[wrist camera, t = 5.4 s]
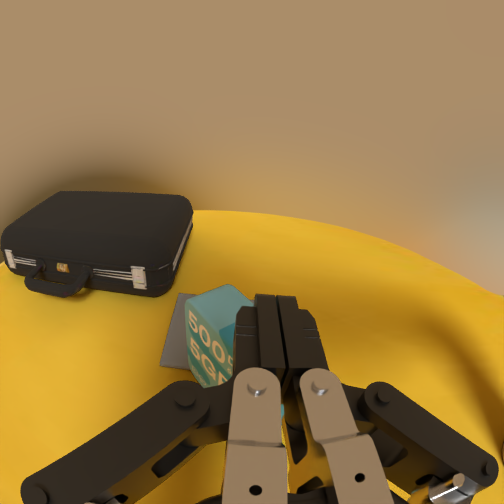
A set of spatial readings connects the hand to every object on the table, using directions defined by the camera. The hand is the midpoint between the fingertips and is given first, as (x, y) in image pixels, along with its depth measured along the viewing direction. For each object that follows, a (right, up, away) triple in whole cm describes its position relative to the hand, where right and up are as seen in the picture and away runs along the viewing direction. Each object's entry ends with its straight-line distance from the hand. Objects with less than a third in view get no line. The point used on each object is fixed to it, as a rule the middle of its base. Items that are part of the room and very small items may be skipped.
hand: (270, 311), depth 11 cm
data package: (-3, -14, +16) cm, 21 cm away
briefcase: (-31, 0, +35) cm, 47 cm away
